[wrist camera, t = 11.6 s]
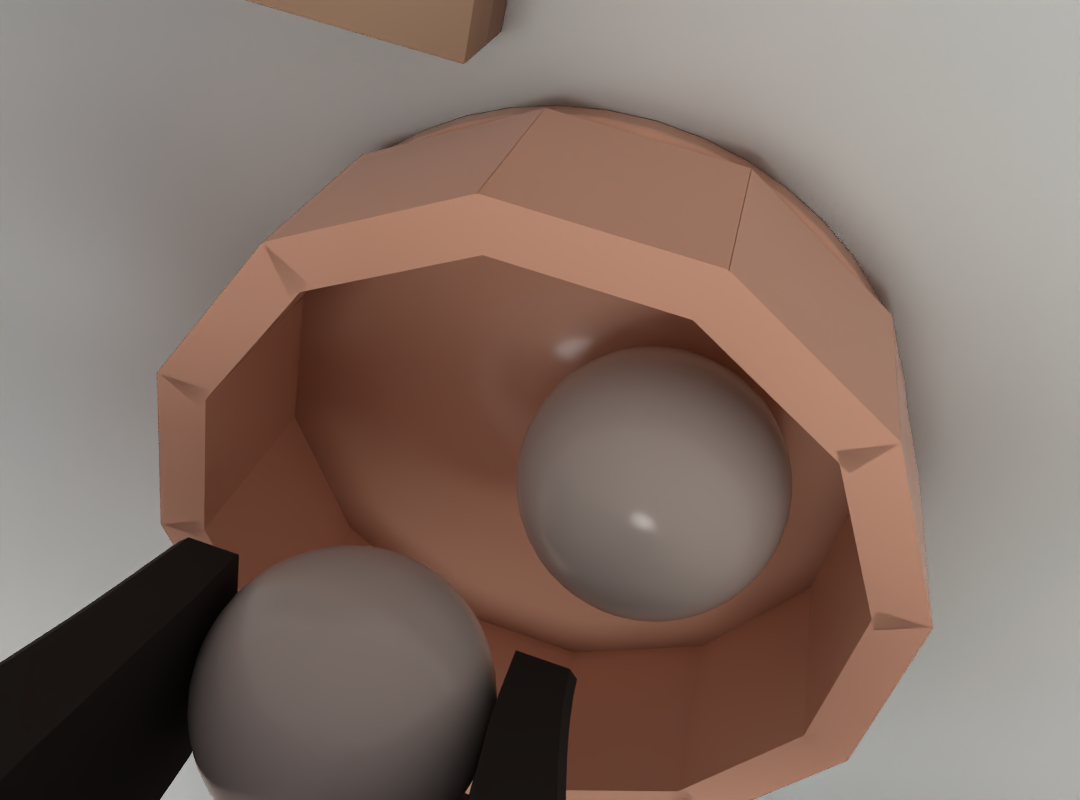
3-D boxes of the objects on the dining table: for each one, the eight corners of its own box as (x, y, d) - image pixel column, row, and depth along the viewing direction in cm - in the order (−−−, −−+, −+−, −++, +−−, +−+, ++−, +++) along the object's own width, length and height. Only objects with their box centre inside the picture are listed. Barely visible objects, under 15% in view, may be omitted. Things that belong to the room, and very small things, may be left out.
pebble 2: (511, 471, 14) (478, 648, 12) (557, 272, 12) (530, 428, 10) (735, 518, 14) (752, 705, 12) (814, 328, 12) (856, 497, 10)
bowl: (266, 543, 18) (164, 685, 15) (297, 16, 12) (149, 94, 10) (773, 717, 17) (758, 898, 14) (1038, 232, 11) (1091, 380, 9)
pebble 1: (272, 640, 13) (131, 863, 11) (278, 451, 11) (111, 666, 9) (506, 717, 13) (421, 967, 10) (552, 536, 11) (462, 784, 8)
